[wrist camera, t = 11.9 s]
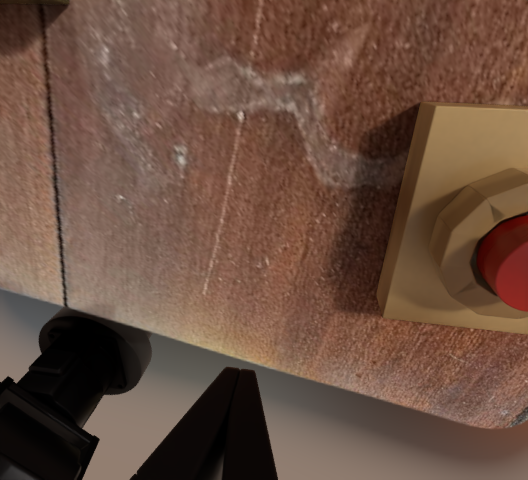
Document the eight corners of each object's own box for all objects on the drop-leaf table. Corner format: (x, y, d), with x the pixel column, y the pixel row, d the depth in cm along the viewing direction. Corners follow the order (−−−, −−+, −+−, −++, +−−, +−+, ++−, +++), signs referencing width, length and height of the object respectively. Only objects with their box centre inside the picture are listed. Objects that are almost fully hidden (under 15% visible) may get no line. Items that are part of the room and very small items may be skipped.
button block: (533, 311, 19) (583, 365, 16) (375, 294, 20) (388, 342, 17) (638, 110, 14) (745, 123, 11) (420, 101, 15) (452, 110, 12)
